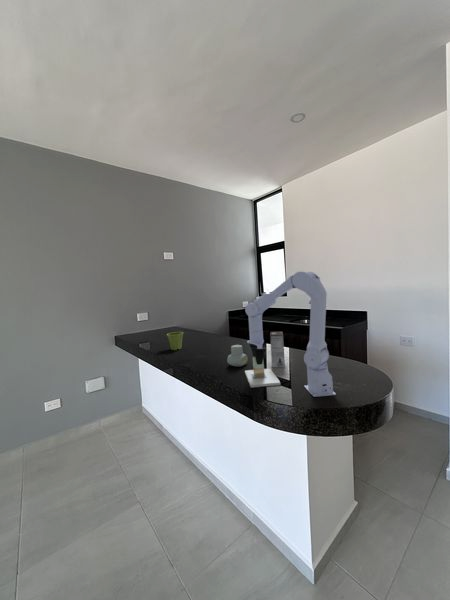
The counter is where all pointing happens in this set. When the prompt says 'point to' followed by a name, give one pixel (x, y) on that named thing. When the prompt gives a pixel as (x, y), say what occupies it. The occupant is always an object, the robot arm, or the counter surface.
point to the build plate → (262, 379)
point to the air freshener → (237, 356)
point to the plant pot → (175, 340)
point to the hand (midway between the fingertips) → (257, 361)
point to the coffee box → (277, 349)
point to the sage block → (256, 364)
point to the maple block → (259, 372)
